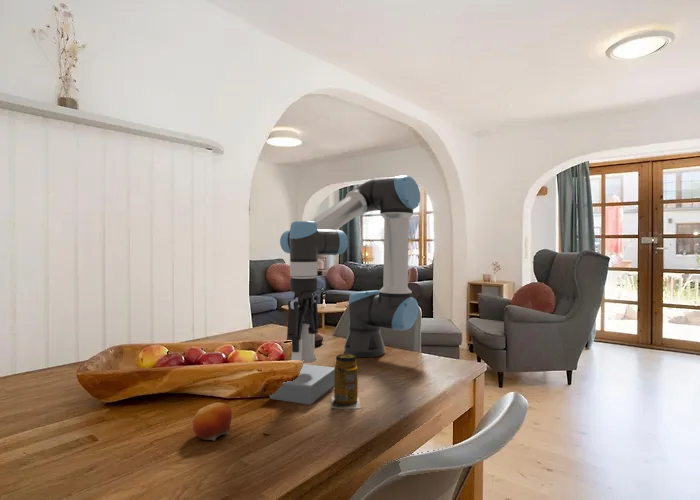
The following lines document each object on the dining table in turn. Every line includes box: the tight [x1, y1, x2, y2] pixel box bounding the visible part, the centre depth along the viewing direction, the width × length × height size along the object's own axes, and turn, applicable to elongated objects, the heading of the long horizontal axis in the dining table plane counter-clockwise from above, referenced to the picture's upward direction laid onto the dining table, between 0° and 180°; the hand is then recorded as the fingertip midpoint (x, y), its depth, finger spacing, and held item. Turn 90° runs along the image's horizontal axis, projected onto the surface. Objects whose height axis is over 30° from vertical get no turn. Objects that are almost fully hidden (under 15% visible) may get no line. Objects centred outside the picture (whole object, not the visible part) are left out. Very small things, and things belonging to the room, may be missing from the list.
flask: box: [290, 324, 317, 364], centre depth 119 cm, size 7×7×10 cm
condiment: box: [330, 353, 361, 410], centre depth 111 cm, size 7×8×12 cm
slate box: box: [269, 363, 335, 406], centre depth 119 cm, size 17×13×5 cm
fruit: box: [192, 401, 233, 442], centre depth 92 cm, size 8×8×8 cm
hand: (303, 359), depth 119 cm, fingers closed on flask, 7 cm apart
